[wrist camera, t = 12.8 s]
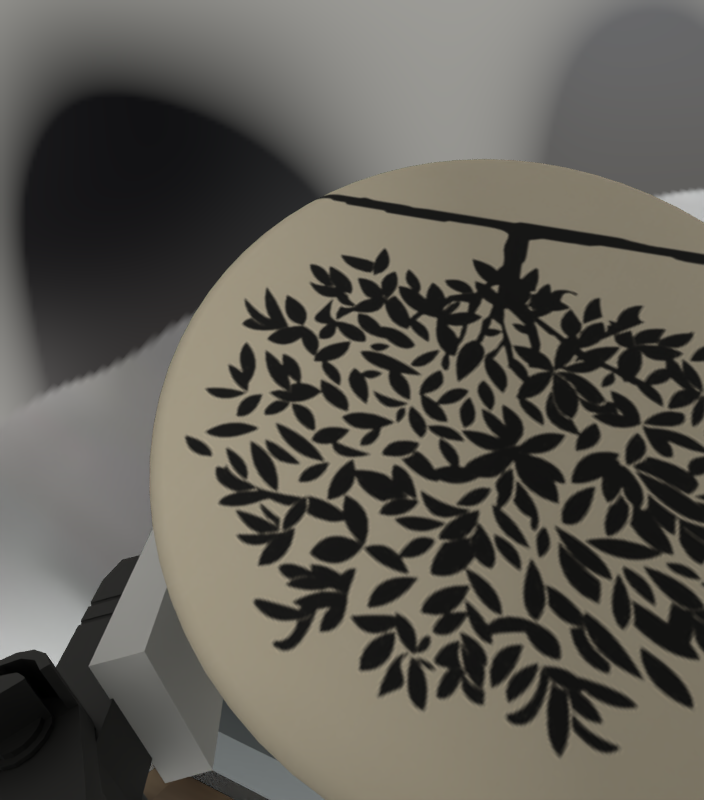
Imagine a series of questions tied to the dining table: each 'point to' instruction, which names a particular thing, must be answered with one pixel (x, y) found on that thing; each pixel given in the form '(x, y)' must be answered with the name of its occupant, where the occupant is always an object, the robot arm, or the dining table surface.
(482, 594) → the travel mug
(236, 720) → the slate bin
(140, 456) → the dining table surface
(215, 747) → the robot arm
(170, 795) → the walnut frame
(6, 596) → the dining table surface
